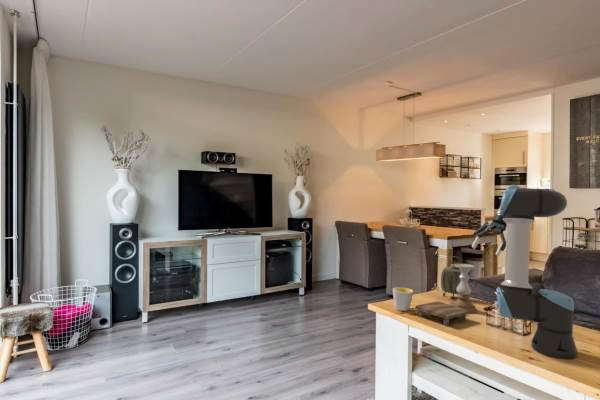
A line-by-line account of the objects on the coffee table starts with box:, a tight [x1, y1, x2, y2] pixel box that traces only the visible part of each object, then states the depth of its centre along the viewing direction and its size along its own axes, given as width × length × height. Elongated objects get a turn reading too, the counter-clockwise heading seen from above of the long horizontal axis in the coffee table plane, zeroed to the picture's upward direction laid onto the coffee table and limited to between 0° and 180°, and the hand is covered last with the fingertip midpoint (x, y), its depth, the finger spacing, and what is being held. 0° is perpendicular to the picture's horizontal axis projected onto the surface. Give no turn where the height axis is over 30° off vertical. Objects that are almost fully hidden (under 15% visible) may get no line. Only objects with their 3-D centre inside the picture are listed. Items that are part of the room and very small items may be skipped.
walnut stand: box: [414, 300, 471, 327], centre depth 185 cm, size 18×18×5 cm
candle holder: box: [448, 263, 478, 314], centre depth 201 cm, size 11×11×24 cm
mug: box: [392, 286, 414, 312], centre depth 198 cm, size 14×10×10 cm
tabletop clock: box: [440, 255, 462, 300], centre depth 223 cm, size 14×9×25 cm, turn 66°
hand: (484, 251), depth 199 cm, fingers open, 13 cm apart
